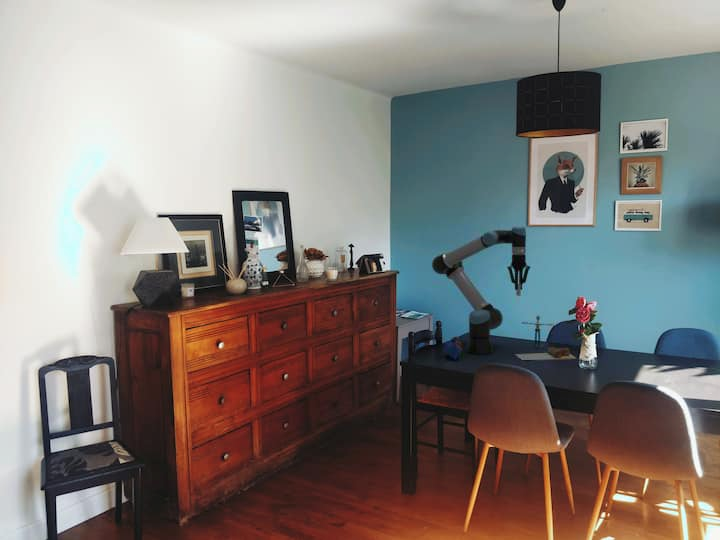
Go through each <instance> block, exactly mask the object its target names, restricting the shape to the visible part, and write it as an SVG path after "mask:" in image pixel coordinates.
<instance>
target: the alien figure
mask: <svg viewBox="0 0 720 540" xmlns="http://www.w3.org/2000/svg"><path fill="white" fill-rule="evenodd" d="M535 318H536V322H527V321H526V322H525V321H523V322H521V324H522V325H524V324H525V325H535V328H534V332H535V333H534V344H533V346H534V349H537V347H538V349H541V347H544V345H543V343H541V329H540V327H541V326H552V327H554V326H555V324H553V323H539V321H540V320H541V317H540V315H536V316H535ZM537 336H538V337H537ZM537 342H538V343H537Z"/></svg>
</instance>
